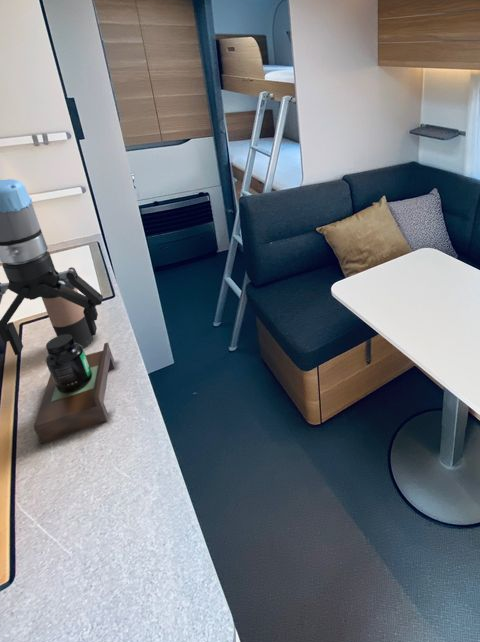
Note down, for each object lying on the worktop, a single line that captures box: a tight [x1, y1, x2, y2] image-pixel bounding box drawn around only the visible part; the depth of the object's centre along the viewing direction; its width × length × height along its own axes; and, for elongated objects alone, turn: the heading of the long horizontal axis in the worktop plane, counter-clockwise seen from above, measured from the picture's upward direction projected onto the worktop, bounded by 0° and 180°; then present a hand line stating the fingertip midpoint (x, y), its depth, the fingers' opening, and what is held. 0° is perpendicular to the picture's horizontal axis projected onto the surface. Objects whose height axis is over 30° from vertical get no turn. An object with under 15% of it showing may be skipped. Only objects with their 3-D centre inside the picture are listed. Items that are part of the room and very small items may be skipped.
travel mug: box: [41, 279, 94, 349], centre depth 111 cm, size 8×8×20 cm
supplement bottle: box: [45, 334, 92, 393], centre depth 92 cm, size 7×7×12 cm
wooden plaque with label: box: [33, 342, 116, 444], centre depth 95 cm, size 12×20×7 cm, turn 26°
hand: (58, 341), depth 90 cm, fingers open, 13 cm apart
